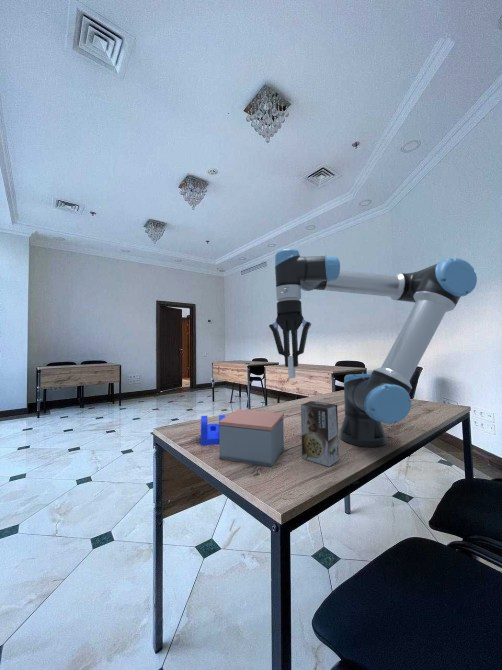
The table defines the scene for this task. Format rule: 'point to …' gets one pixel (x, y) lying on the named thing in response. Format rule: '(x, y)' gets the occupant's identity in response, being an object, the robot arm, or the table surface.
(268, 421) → the lid
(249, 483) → the table surface
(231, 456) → the box
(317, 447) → the coffee box
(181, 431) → the table surface
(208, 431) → the bracket
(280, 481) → the table surface
